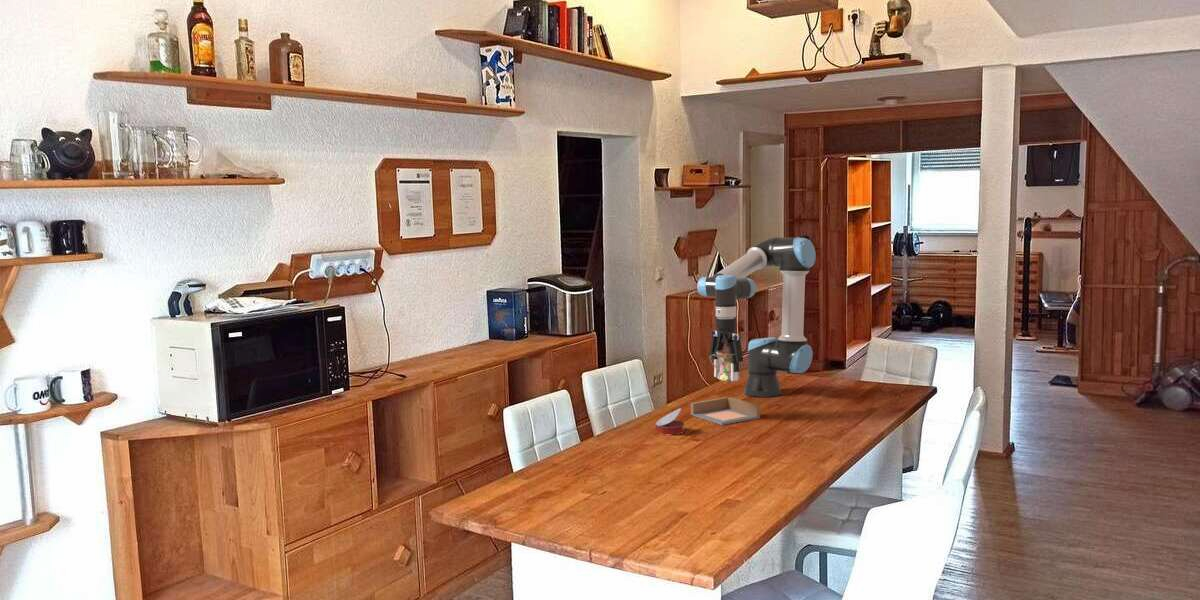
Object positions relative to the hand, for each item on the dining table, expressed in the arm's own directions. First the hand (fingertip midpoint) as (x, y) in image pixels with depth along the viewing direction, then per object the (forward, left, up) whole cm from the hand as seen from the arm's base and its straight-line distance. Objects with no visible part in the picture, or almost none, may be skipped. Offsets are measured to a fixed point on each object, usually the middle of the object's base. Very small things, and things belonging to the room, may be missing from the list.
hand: (726, 378), depth 335 cm
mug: (0, 0, -1) cm, 1 cm away
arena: (-1, -2, -15) cm, 15 cm away
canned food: (+28, +3, -15) cm, 32 cm away
